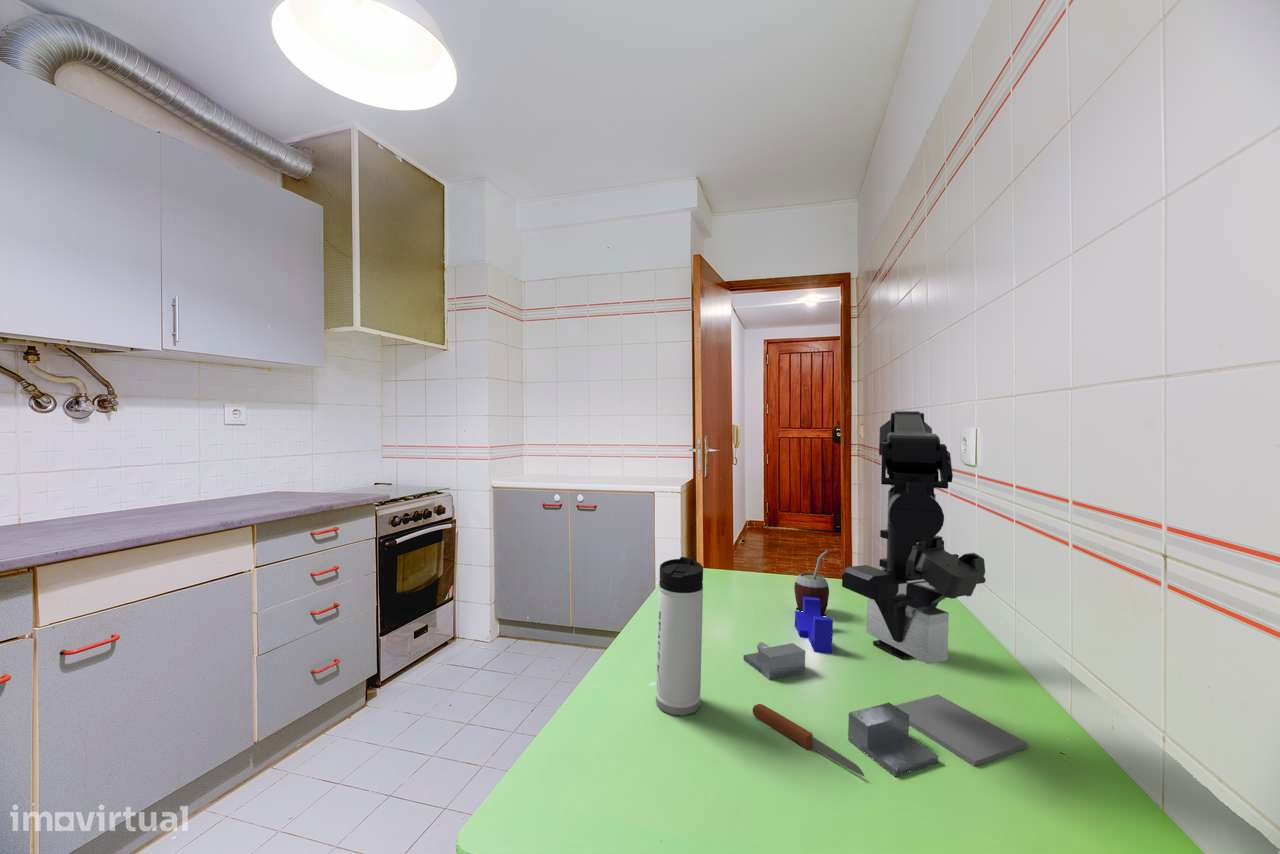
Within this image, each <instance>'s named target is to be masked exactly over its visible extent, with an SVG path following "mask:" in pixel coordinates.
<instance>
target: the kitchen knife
mask: <svg viewBox="0 0 1280 854" xmlns="http://www.w3.org/2000/svg"><path fill="white" fill-rule="evenodd" d="M752 714H753V715H754V717H755V718H756V719H757V720H758V721H760V722H761V723H763V724H765V725H766V726H768V727H769V726H770V727H769V728H770V729H773V730H775V731H776V730H777V732H778V733H780V734H782V735H784V736H786V737H788V738H790V739H791V740H793V741H794V742H796V743H798V744H799V745H800V746H801V747H803V748H804V749H805V750H807V751H809V750H810V751H811V750H813V749H814V750H815V751H817V752H818V753H820V754H822V755H823V756H825V757H827V758H829V759H830V760H832V761H834V762H836V763H838V764H840V765H841V766H843V767H845V768H847V769H849V770H850V771H852V772H853V773H856V774H858V775H859V776H860V777H861V776H862V777H865V774H864V772H863V771H862V769H861V767H860V766H859V765H858V764H857V763H855V762H854V761H852V760H850V759H849V758H847V757H846V756H844V755H842V754H841V753H839V752H838V751H836V750H835V749H833V748H832V747H830V746H828V745H827V744H825V743H824V742H822V741H820V740H819V739H818V738H816V737H814V735H813V732H811V731H809V730H808V729H806V728H804V727H803V726H801V725H799V724H797V723H796V722H794V721H793V720H790V719H789V718H787V717H785V716H783V715H782V714H780V713H778V712H777V711H775V710H774V709H771V708H770V707H768V706H766V705H765V704H762V703H758V704H757V703H756V704H755V705H753V706H752Z"/></svg>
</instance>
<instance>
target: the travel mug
mask: <svg viewBox="0 0 1280 854" xmlns="http://www.w3.org/2000/svg"><path fill="white" fill-rule="evenodd" d="M659 565H660V566H659V582H658V583H659V584H658V608H657V613H658V614H657V644H656V645H657V646H656V647H657V650H656V652H657V653H656V684H655V685H656V686H655V687H656V691H655V703H656V705H657V707H658V708H659V709H660V710H661V711H662V712H664V713H667V714H668V715H669V714H670V715H673V716H688V715H690V714H694V713H695V712H697V710H699V708H700V706H701V684H702V683H701V682H702V681H701V680H702V679H701V678H702V647H703V645H702V644H703V643H702V642H703V641H702V638H703V607H704V606H703V605H704V600H703V599H704V592H703V591H704V582H703V580H704V566H703V565H702V563H700V562H699V561H696V560H694V559H693V557H687V556H680V557H679V558H674V559H668V560H665V561H663V562H662V563H661V564H659Z"/></svg>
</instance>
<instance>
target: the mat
mask: <svg viewBox="0 0 1280 854" xmlns="http://www.w3.org/2000/svg"><path fill="white" fill-rule="evenodd" d="M894 706H896V707H897V708H899V709H900V710H902V711H904V712H905V713H907V714H909V727H912V728H914V729H915V730H917V731H919V733H921V734H923V735H925V736H926V737H928V738H929V739H931V740H932V741H934V742H936V743H937V744H939V745H940V746H942V747H943V748H944V749H947V750H948V751H950V752H951V753H953V754H955V755H956V756H957V757H958V758H960V759H962V760H964V761H965V762H967V763H968V764H969V765H972V766H973V767H977V766H979V765H982V764H985V763H988V762H991V761H994V760H997V759H1000V758H1003V757H1006V756H1008V755H1011V754H1013V753H1016V752H1019V751H1022V750H1025V749H1027V748H1028V742H1027V741H1025V740H1023V739H1021V738H1019V737H1018V736H1016V735H1014V734H1012V733H1010V732H1009V731H1006V730H1004V729H1003V728H1001V727H999V726H997V725H995V724H993V723H992V722H990V721H988V720H986V719H984V718H983V717H981V716H979V715H977V714H975V713H973V712H971V711H970V710H968V709H966V708H964V707H962V706H960V705H958V704H957V703H954V702H953V701H951V700H950V699H947V698H946V697H944V696H942V695H940V694H933V695H930V696H925V697H923V698H918V699H914V700H911V701H907V702H902V703H900V704H896V705H894Z"/></svg>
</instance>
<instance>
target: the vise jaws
mask: <svg viewBox="0 0 1280 854" xmlns="http://www.w3.org/2000/svg"><path fill="white" fill-rule="evenodd" d="M756 650H757V652H753V653H748V654H744V655H743V661H745V662H746V663H747V664H748V665H750V666H751V667H752V668H753V667H754V669H755V670H756V671H757V670H758V671H757V672H759V673H760V674H761V675H762V676H764V677H765V678H766V679H768V680H769V681H770V680H774V678H775V679H779V677H780V678H784V676H785V677H788V676H789V675H790V676H794V675H799V674H803V673H805V672H806V650H805V649H803V648H802V647H800V646H799V645H797V644H796V643H793V642H792V643H786V644H781V645H774V646H769V645H767V644H766V643H765V642H763V641H760V642H758V643H757V645H756ZM847 724H848V725H847V726H848V728H847V730H848V731H847V732H848V733H847V740H849V741H850V742H849V741H848V742H849V743H850V744H852V743H853V744H854V745H853V744H852V745H853V746H855V747H856V748H857V747H858V748H859V749H858V748H857V749H858V750H860V751H861V750H862V751H863V752H862V751H861V752H862V753H864V752H865V753H866V754H868V755H867V757H869V756H870V757H871V758H873V759H874V760H875V761H876V762H875V761H874V760H873V759H872V760H873V761H874V762H875V763H877V762H878V763H879V764H880V765H881V766H880V765H879V764H878V763H877V764H878V765H879V766H880V767H882V766H883V767H884V768H885V769H884V768H883V767H882V768H883V769H884V770H886V771H887V772H888V771H889V772H888V773H890V774H891V775H892V774H893V775H894V776H893V775H892V776H893V777H895V776H897V777H900V776H902V775H901V774H903V775H905V774H904V773H906V774H908V773H907V772H909V771H912V772H914V771H913V770H915V771H917V770H916V769H918V770H920V769H919V768H921V769H923V768H922V767H924V768H927V767H929V766H928V765H930V766H933V765H935V763H936V764H938V763H939V755H938V754H936V753H934V752H933V751H931V750H930V749H929V748H927V747H925V746H924V745H922V744H921V743H919V742H918V741H917V740H915V739H913V738H912V737H911V736H910V735H909V733H910V725H909V714H907V713H905V712H904V711H902V710H900V709H899V708H897V707H896V706H895V705H894V704H893V703H891V702H886V703H881V704H878V705H874V706H870V707H866V708H863V709H862V708H861V709H858V710H854V711H850V712H848V723H847ZM865 753H864V754H865ZM866 754H865V755H866ZM870 757H869V758H870ZM871 758H870V759H871ZM932 764H933V765H932ZM926 766H927V767H926ZM909 773H910V772H909ZM899 775H900V776H899Z"/></svg>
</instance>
